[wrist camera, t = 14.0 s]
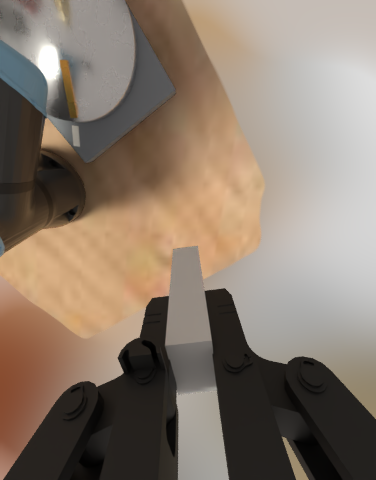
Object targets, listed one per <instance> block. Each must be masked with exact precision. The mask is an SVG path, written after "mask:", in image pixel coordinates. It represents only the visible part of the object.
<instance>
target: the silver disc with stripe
mask: <svg viewBox="0 0 376 480" xmlns="http://www.w3.org/2000/svg"><path fill="white" fill-rule="evenodd" d="M0 40H2V41H3V42H5V43H6V44H8V45H9V46H11V47H12V48H13V49H15V50H16V51H18V52H19V53H21V54H22V55H23V56H25V57H26V58H27V59H29V60H30V61H31V62H32V63H34V64H35V65H36V66H37V67H38V68H39V69H40V70H41V72H42V73H43V75H44V76H45V78H46V81H47V84H48V94H47V105H46V112H47V114H48V115H50V116H52V117H55V118H58V119H62V120H65V121H71V122H78V123H90V122H96V121H99V120H102V119H104V118H106V117H108V116H110V115H111V114H112V113H114V112H115V111H116V110H117V109H118V108H119V107H120V106H121V105H122V104H123V102H124V101H125V99H126V98H127V96H128V94H129V92H130V90H131V88H132V85H133V82H134V78H135V74H136V68H137V40H136V34H135V29H134V25H133V21H132V18H131V14H130V12H129V9H128V7H127V4H126V2H125V0H0Z"/></svg>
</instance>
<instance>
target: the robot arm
mask: <svg viewBox="0 0 376 480" xmlns="http://www.w3.org/2000/svg"><path fill="white" fill-rule="evenodd" d="M47 94H48V84H47V81H46V78H45V76H44V75H43V73H42V72H41V70H40V69H39V68H38V67H37V66H36V65H35V64H34V63H32V62H31V61H30V60H29V59H27V58H26V57H25V56H23V55H22V54H21V53H19V52H18V51H16V50H15V49H13V48H12V47H11V46H9V45H8V44H6V43H5V42H3V41H2V40H0V257H1V256H2V255H3V253H5V252H7V251H8V250H10V249H11V248H13V247H14V246H16V245H18V244H19V243H21V242H22V241H24V240H25V239H27V238H29V237H30V236H32V235H33V234H35V233H37V232H38V231H40V230H41V229H47V228H56V227H61V226H64V225H66V224H68V223H70V222H71V221H73V220H74V219H75V218H77V217H78V216H79V214H80V213H81V211H82V210H83V207H84V204H85V190H84V186H83V183H82V181H81V179H80V177H79V175H78V174H77V172H76V171H75V170H74V168H73V167H72V166H71V165H70V164H69V163H68V162H67V161H65V160H64V159H63V158H61V157H59V156H58V155H56V154H54V153H51V152H48V151H45V150H41V143H42V137H43V130H44V123H45V118H47V116H48V115H47V112H46V105H47ZM118 360H119V362H120V364H121V367H122V369H123V371H124V373H123V374H122V375H121V376H119V377H117V378H116V379H114V380H111V381H109V382H107V383H105V384H102V385H100V386H98V387H96V385H95V384H94V383H91V382H89V381H85V382H80V383H77V384H75V385H73V386H71V387H70V388H69V389H67V390H66V391H65V392H64V393H63V394H62V395H61V396H60V397H59V399H58V400H57V401H56V402H55V404H54V405H53V407H52V408H51V410H50V411H49V413H48V414H47V416H46V417H45V419H44V420H43V422H42V423H41V425H40V426H39V428H38V429H37V430H36V432H35V433H34V435H33V436H32V438H31V439H30V441H29V442H28V444H27V445H26V447H25V448H24V450H23V451H22V453H21V454H20V456H19V457H18V459H17V460H16V461H15V463H14V464H13V466H12V467H11V469H10V471H9V472H8V473H7V475H6V476H5V478H4V479H3V480H178V409H177V404H176V391H177V392H178V395H180V394H190V393H199V392H209V391H217V394H218V402H219V409H220V418H221V424H222V432H223V439H224V446H225V454H226V461H227V468H228V475H229V480H296V478H295V475H294V472H293V469H292V467H291V463H290V460H289V457H288V454H287V451H286V448H285V445H284V442H283V439H282V437H285V438H287V441H288V442H289V444H290V446H291V448H292V450H293V451H294V453H295V455H296V457H297V459H298V461H299V462H300V464H301V466H302V468H303V470H304V471H305V473H306V475H307V477H308V479H309V480H376V419H375V418H374V417H373V416H372V415H371V414H370V413H369V411H368V410H367V409H366V408H365V407H364V406H363V405H362V404H361V403H360V402H359V401H358V400H357V398H355V396H354V395H353V394H352V393H351V392H350V391H349V390H348V389H347V388H346V386H344V384H343V383H342V382H341V381H340V380H339V379H338V378H337V377H336V376H335V375H334V373H333V372H332V371H331V370H329V369H328V368H327V367H326V366H325V365H324V364H323V363H321V362H319V361H317V360H315V359H313V358H308V357H295V358H293V359H292V360H290V361H289V362H288V364H282V363H278V362H273V361H269V360H266V359H263V358H261V357H259V356H258V355H256V354H255V353H254V352H253V351H252V350H251V349H250V348H249V346H248V344H247V342H246V339H245V336H244V332H243V330H242V326H241V323H240V320H239V317H238V314H237V311H236V308H235V305H234V301H233V298H232V295H231V294H230V293H229V292H228V291H227V290H226V289H225V288H224V289H217V290H208V291H204V286H203V278H202V271H201V264H200V258H199V251H198V246H192V247H185V248H177V249H173V257H172V269H171V281H170V293H169V296H165V297H157V298H152V299H151V301H150V302H149V304H148V305H147V307H146V312H145V317H144V320H143V325H142V330H141V334H140V338H137V339H134V340H133V341H131V342H129V343H128V344H127V345H126V346H125V347H124V348H123V349H122V350H121V352H120V354H119V357H118Z"/></svg>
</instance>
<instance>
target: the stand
mask: <svg viewBox="0 0 376 480" xmlns="http://www.w3.org/2000/svg"><path fill="white" fill-rule="evenodd" d="M125 2H126V1H125ZM126 4H127V3H126ZM127 7H128V5H127ZM128 9H129V12H130V14H131V18H132V21H133V25H134V29H135V34H136V40H137V68H136V74H135V78H134V82H133V85H132V88H131V90H130V92H129V94H128V96H127V98H126V99H125V101H124V102H123V104H122V105H121V106H120V107H119V108H118V109H117V110H116V111H115V112H114V113H112V114H111V115H110V116H108V117H106V118H104V119H102V120H99V121H96V122H90V123H78V122H71V121H65V120H62V119H58V118H55V117H52V116H50V115H48V114H47V115H48V116H47V118H48V119H49V120H50V121H51V122H52V124H53V125H54V126H55V127H56V128H57V129H58V131H59V132H60V133H61V134H62V135H63V137H64V138H65V139H66V140H67V141H68V143H69V144H70V145H71V146H72V147H73V149H74V150H75V151H76V152H77V153H78V155H79V156H80V157H81V158H82V159H83V161H84V162H85V163H89V162H92V161H94V160H95V159H96V158H97V157H99V156H100V155H101V154H102V153H104V152H105V151H106V150H107V149H108V148H110V147H111V146H112V145H113V144H115V143H116V142H117V141H118V140H120V139H121V138H122V137H123V136H124V135H126V134H127V133H128V132H129V131H131V130H132V129H133V128H134V127H136V126H137V125H138V124H139V123H140V122H142V121H143V120H144V119H145V118H147V117H148V116H149V115H150V114H152V113H153V112H154V111H155V110H156V109H158V108H159V107H160V106H161V105H163V104H164V103H165V102H166V101H168V100H169V99H170V98H171V97H172V96H174V95H175V94H176V89H175V88H174V86H173V84H172V82H171V81H170V79H169V77H168V75H167V74H166V72H165V70H164V68H163V67H162V65H161V63H160V61H159V59H158V58H157V56H156V54H155V52H154V51H153V49H152V47H151V45H150V44H149V42H148V40H147V38H146V37H145V35H144V33H143V31H142V30H141V28H140V26H139V24H138V23H137V21H136V19H135V17H134V15H133V14H132V12H131V10H130V8H129V7H128Z"/></svg>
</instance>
